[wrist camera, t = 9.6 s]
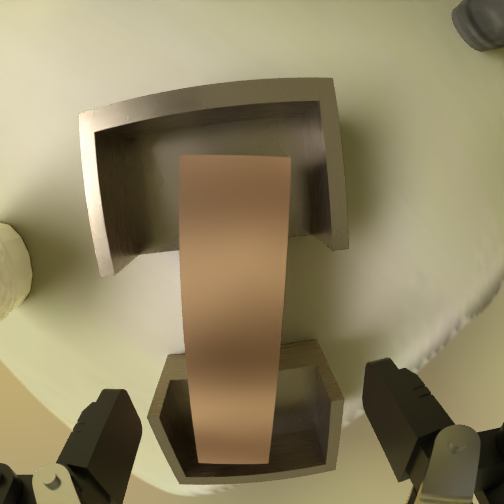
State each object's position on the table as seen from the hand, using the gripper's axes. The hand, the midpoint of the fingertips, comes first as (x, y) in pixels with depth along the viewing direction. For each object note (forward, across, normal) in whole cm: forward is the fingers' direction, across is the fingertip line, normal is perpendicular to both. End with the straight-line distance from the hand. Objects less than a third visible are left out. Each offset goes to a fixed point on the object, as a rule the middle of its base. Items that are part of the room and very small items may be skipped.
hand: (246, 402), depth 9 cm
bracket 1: (+11, 0, -7) cm, 13 cm away
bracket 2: (+10, +1, +8) cm, 13 cm away
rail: (+7, 0, 0) cm, 7 cm away
